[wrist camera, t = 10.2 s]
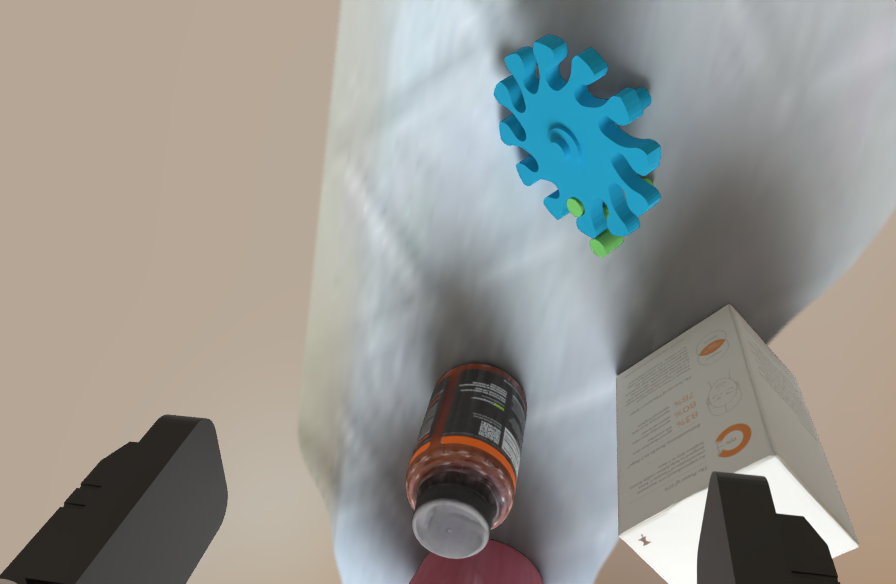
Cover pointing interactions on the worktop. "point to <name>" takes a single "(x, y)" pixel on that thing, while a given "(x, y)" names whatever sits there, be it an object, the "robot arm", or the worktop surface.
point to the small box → (715, 442)
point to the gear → (579, 141)
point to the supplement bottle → (466, 459)
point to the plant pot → (479, 568)
